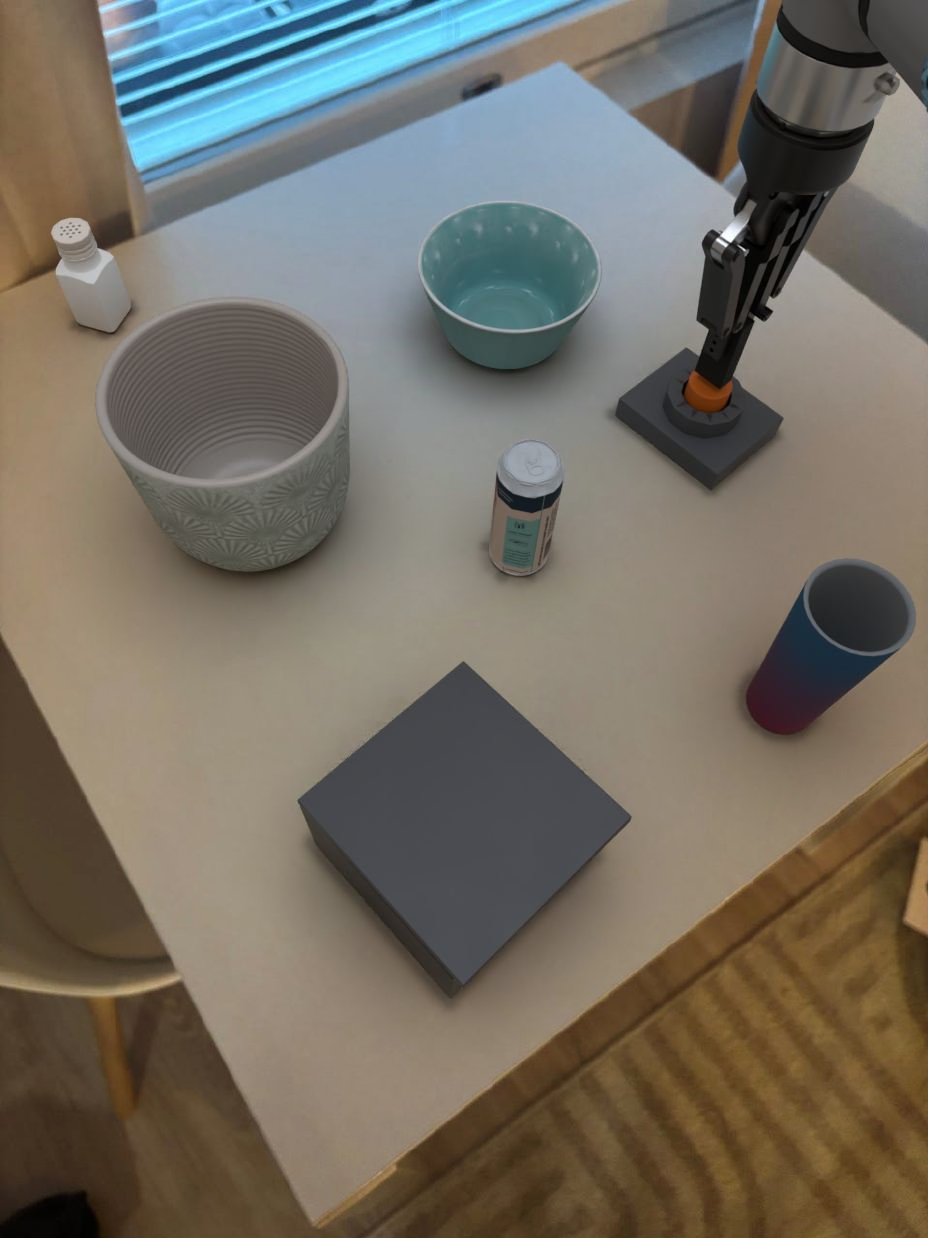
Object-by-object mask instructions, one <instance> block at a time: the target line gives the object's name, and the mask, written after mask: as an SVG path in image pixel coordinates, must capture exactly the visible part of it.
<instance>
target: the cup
mask: <svg viewBox="0 0 928 1238" xmlns="http://www.w3.org/2000/svg"><path fill="white" fill-rule="evenodd" d="M916 624H917V612H916V606H915V603H914V601H913V598H912V596H911V594H910V593H909V591H908V589H907V588H906V586H905V585H904V584H903V583H902V582H901V581H900V580H899V579H898V578H897V577H896V576H895V575H894V574H892V573H891V572H890V571H888V570H887V569H885V568H883V567H882V566H880V565H878V564H875V563H874V562H870V561H868V560H863V559H859V558H849V557H847V558H845V557H844V558H837V559H833V560H829V561H826V562H824V563H823V564H821V565H819V566H817V568H816V569H815V570H813V571H812V572H811V573H810V574H809V577H808V578H807V579H806V581H805V583H804V585H803V586H802V588H801V590H800V592H799V594H798V596H797V598H796V599H795V601H794V603H793V605H792V607H791V609H790V611H789V612H788V614H787V615H786V618H785V619H784V621H783V623H782V625H781V627H780V629H779V631H778V632H777V634H776V636H775V638H774V639H773V641H772V643H771V645H770V646H769V649H768V651H767V653H766V655H765V656H764V658H763V660H762V662H761V663H760V665H759V667H758V668H757V671H756V673H755V675H754V677H753V678H752V680H751V682H750V684H749V685H748V688H747V690H746V695H745V696H746V697H745V699H746V700H745V701H746V706H747V709H748V712H749V713H750V716H751V717H752V718H753V720H754V721H755V722H756V723H757V724H758V725H759V726H760V727H762V728H764V729H765V730H767V731H769V732H770V733H774V734H778V735H787V736H788V735H794V734H797V733H799V732H801V731H803V730H804V729H806V728H807V727H808V726H809V725H810V724H812V723H813V722H814V721H815V720H816V719H818V718H819V717H820V716H821V715H823V714H824V713H825V712H826V711H827V710H828V709H830V708H831V707H832V706H833V705H834V704H836V703H837V702H838V701H839V700H840V699H842V698H843V697H844V696H845V695H846V694H848V693H849V692H851V691H852V690H853V688H855V687H856V686H857V685H858V684H860V683H861V682H862V681H864V680H865V679H866V678H867V677H868V676H869V675H871V674H872V673H873V672H874V671H876V669H877V668H879V667H881V665H883V663H885V662H886V661H887V660H889V659H890V658H891V657H892V656H893V655H895V653H897V652H898V651H899V650H901V649H902V648H903V647H904V646H905V645H906V644H907V643H908V642H909V640H910V639H911V637H912V636H913V634H914V632H915V628H916Z"/></svg>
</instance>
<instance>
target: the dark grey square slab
mask: <svg viewBox="0 0 928 1238" xmlns="http://www.w3.org/2000/svg"><path fill="white" fill-rule="evenodd" d="M297 803H298V805H299V807H300V806H301V807H302V809H303V810H304V811H305V812H306V813H307V814H308V815H309V816H310V817H311V819H312V820H313V821H314V822H315V823H316V824H317V825H318V826H319V828H320V829H321V830H322V831H323V832H324V833H325V834H326V835H327V837H328V838H329V839H330V840H331V841H332V842H333V843H334V844H335V845H336V847H337V848H338V849H339V850H340V851H341V852H342V853H343V854H344V856H345V857H346V858H347V859H348V860H349V861H350V862H351V863H352V865H353V866H354V867H355V868H356V869H357V870H358V871H359V872H360V873H361V875H362V876H363V877H364V878H365V879H366V880H367V881H368V882H369V884H370V885H371V886H372V887H373V888H374V889H375V890H376V891H377V893H378V894H379V895H380V896H381V897H382V898H383V899H384V900H385V901H386V903H387V904H388V905H389V906H390V907H391V908H392V909H393V910H394V912H395V913H396V914H397V915H398V916H399V917H400V918H401V919H402V921H403V922H404V923H405V924H406V925H407V926H408V927H409V928H410V929H411V931H412V932H413V933H414V934H415V935H416V936H417V937H418V938H419V940H420V941H421V942H422V943H423V944H424V945H425V946H426V947H427V949H428V950H429V951H430V952H431V953H432V954H433V955H434V956H435V957H436V959H437V960H438V961H439V962H440V963H441V964H442V965H443V966H444V968H445V969H446V970H447V971H448V972H449V973H450V974H451V975H452V977H453V978H454V979H455V980H456V981H457V982H458V983H459V984H460V985H461V987H462V988H463V989H464V988H466V986H468V985H469V984H470V982H472V981H473V980H474V978H476V977H477V975H478V974H480V972H481V971H483V970H484V968H485V967H487V966H488V964H490V963H491V961H492V960H494V959H495V957H497V956H498V954H499V953H500V952H502V951H503V950H504V948H505V947H506V946H508V944H509V943H511V942H512V940H514V939H515V938H516V936H518V935H519V934H520V933H521V931H523V930H524V928H525V927H527V925H529V923H530V922H532V920H533V919H535V918H536V916H537V915H538V914H539V913H541V911H543V909H545V907H546V906H548V904H550V903H551V901H553V899H554V898H556V897H557V895H558V894H560V893H561V892H562V890H564V888H566V887H567V885H569V884H570V882H571V881H572V880H573V879H574V878H575V877H576V876H577V875H578V874H580V873H581V872H582V871H583V869H584V868H586V866H587V865H588V864H590V863H591V861H592V860H593V859H594V858H595V857H596V856H598V854H599V853H600V852H601V851H602V850H603V849H604V848H606V847H607V845H608V844H610V842H611V841H612V840H614V838H615V837H616V836H617V835H619V833H621V831H622V830H624V829H625V828H626V826H627V825H628V824H629V823H630V822H631V820H632V818H633V816H632V815H631V813H629V812H628V811H627V810H626V809H625V808H623V806H621V805H620V804H619V803H618V802H617V801H616V800H615V799H614V798H613V797H612V796H610V795H609V794H608V793H607V792H606V791H605V790H604V789H603V788H602V787H601V786H599V785H598V783H596V781H594V780H593V779H592V778H591V777H590V776H589V775H588V774H587V773H586V772H584V771H583V770H582V769H581V768H580V767H579V766H578V765H577V764H576V763H574V761H573V760H571V759H570V757H568V755H566V754H565V753H564V752H563V751H562V750H561V749H560V748H558V746H557V745H556V744H554V743H553V742H552V741H551V740H549V738H548V737H547V736H546V735H544V733H543V732H541V731H540V730H539V729H538V728H537V727H536V726H535V725H534V724H533V723H532V722H530V720H528V719H527V718H526V717H525V716H524V715H523V714H521V713H520V712H519V711H518V710H517V709H516V708H515V707H514V706H513V705H512V704H511V703H510V702H509V701H508V700H506V698H505V697H503V696H502V695H501V694H500V693H499V692H498V691H497V690H496V689H495V688H494V687H492V686H491V685H490V683H488V682H487V681H486V680H485V679H484V678H483V677H482V676H481V675H479V674H478V673H477V672H476V671H475V670H474V669H473V668H472V667H471V666H470V665H469V664H468V663H467V662H465V661H464V660H463V661H461V662H460V663H459V664H458V665H457V666H455V667H454V668H452V670H451V671H449V673H447V674H445V676H443V678H441V679H440V680H439V681H438V682H436V683H435V684H433V686H432V687H430V688H429V689H428V690H427V691H426V692H424V693H423V694H422V695H420V696H419V697H418V698H417V699H416V700H414V701H413V702H412V703H411V704H410V705H409V706H408V707H406V708H405V709H404V710H403V711H402V712H400V713H399V714H398V715H397V716H395V718H393V719H392V720H391V721H390V722H389V723H387V724H386V725H385V726H384V727H383V728H381V729H380V730H379V731H377V732H376V733H375V734H374V735H373V736H372V737H371V738H370V739H367V741H366V742H365V743H364V744H362V745H361V746H360V747H359V748H357V749H356V750H355V751H354V752H353V753H351V754H349V756H348V757H346V758H345V759H344V760H343V761H342V762H340V764H339V765H337V766H336V767H335V768H333V769H332V770H331V771H329V773H327V774H326V775H325V776H324V777H323V778H322V779H320V780H319V781H318V782H317V783H315V784H314V785H312V787H311V788H310V789H308V790H307V791H305V793H303V795H301V796H300V797H299V798H297ZM462 988H461V989H462Z"/></svg>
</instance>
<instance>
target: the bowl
mask: <svg viewBox="0 0 928 1238" xmlns="http://www.w3.org/2000/svg"><path fill="white" fill-rule="evenodd" d="M602 268H603V267H602V260H601V257H600V254H599V251H598V248H597V247H596V245H595V243H594V242H593V240H592V239H591V237H590V236H589V234H588V233H587V232H586V231H585V230H583V228H582V227H581V226H580V225H578V224H577V223H576V222H575V221H573V220H572V219H570V218H569V217H567V216H566V215H564V214H563V213H560V212H558V211H556V210H554V209H552V208H549V207H547V206H543V205H540V204H535V203H531V202H526V201H521V200H489V201H482V202H479V203H474V204H470V205H468V206H464V207H462V208H460V209H457V210H455V211H453V212H451V213H449V214H448V215H446V216H444V217H443V218H441V219H440V220H439V221H438V222H437V223H435V224H434V226H432V227H431V229H430V230H429V231H428V232H427V234H426V235H425V237H424V239H423V240H422V242H421V245H420V247H419V250H418V254H417V273H418V277H419V281H420V283H421V285H422V288H423V290H424V292H425V295H426V298H427V299H428V302H429V304H430V306H431V309H432V311H433V312H434V315H435V317H436V319H437V321H438V323H439V325H440V327H441V329H442V332H443V333H444V335H445V338H446V339H447V341H448V342H449V344H450V345H451V346H452V347H453V348H454V350H456V351H457V352H458V353H459V354H460V355H461V356H462V357H464V358H466V359H467V360H469V361H470V362H473V363H475V364H477V365H480V366H483V367H487V368H491V369H497V370H518V369H522V368H527V367H530V366H534V365H537V364H538V363H540V362H542V361H544V360H546V359H547V358H549V357H550V356H551V355H552V354H553V353H555V352H556V350H557V349H559V348H560V346H561V345H562V344H563V342H564V340H565V339H566V338H567V337H568V335H569V334H570V333H571V331H572V330H573V329H574V328H575V326H576V325H577V323H578V322H580V319H581V318H582V316H583V315H584V314H585V312H586V310H588V308H589V306H590V305H591V303H592V302H593V301H594V299H595V297H596V295H597V293H598V292H599V291H598V290H599V289H600V285H601V281H602V275H603V269H602Z"/></svg>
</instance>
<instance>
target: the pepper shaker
mask: <svg viewBox="0 0 928 1238" xmlns="http://www.w3.org/2000/svg"><path fill="white" fill-rule="evenodd" d="M50 234H51V237H52V239H53V241H54V243H55V247H56V249H57V251H58V254H59V256H60V258H61V259H60V260H59V262H58V264H57V266H56V267H55V277H56V280H57V281H58V284H59V286H60V288H61V291H62V293H63V294H64V295H63V296H64V297H65V299H66V301H67V304H68V306H69V308H70V311H71V314H72V316H73V317H74V319H75V321H76V322H77V323H78V324H80V325H81V326H84V327H88V328H92V329H95V330H99V331H102V332H106V333H114V332H116V331H117V330H118V328H119V327H120V325H121V324H122V322H123V321H124V319H125V318H126V316H127V315H128V314H129V312H130V311H131V307H132V302H131V299H130V297H129V294H128V291H127V288H126V285H125V283H124V280H123V277H122V274H121V272H120V269H119V266H118V264H117V262H116V258H115V257H114V255H113V254H112V253H110V252H109V251H107V250H104V249H102V248H98V244H97V241H96V239H95V236H94V234H93V231H92V228H91V226H90V224H89V222H88V221H87V220H84V219H83V218H81V217H68V218H65V219H61V220H59V221H58V222H56V223H55V224H54V225H53V226H52V229H51V232H50Z"/></svg>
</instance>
